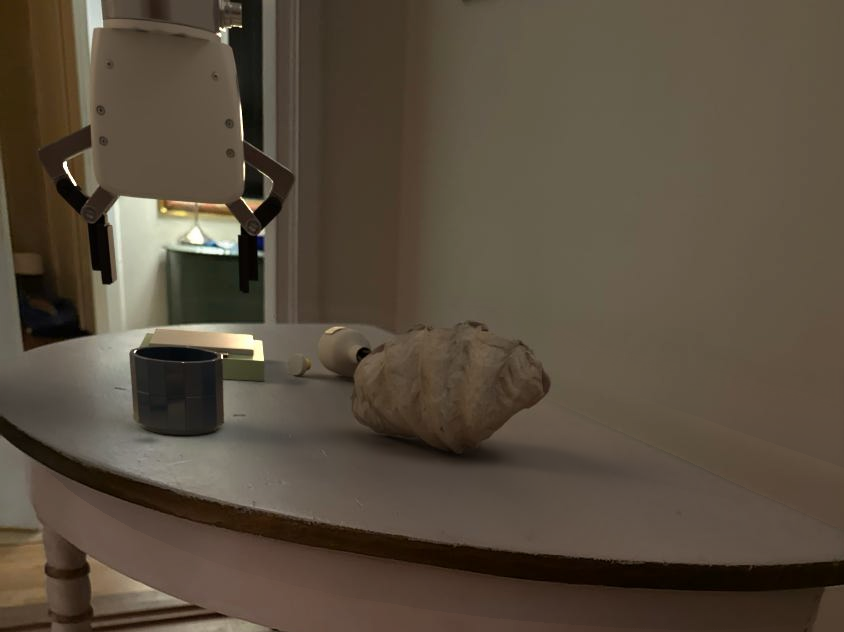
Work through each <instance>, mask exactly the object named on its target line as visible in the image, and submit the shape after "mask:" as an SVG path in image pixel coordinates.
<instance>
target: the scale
mask: <svg viewBox="0 0 844 632" xmlns="http://www.w3.org/2000/svg"><path fill="white" fill-rule="evenodd" d="M253 337H254V336H253V334H243V333H227V332H212V331H200V330H199V331H198V330H184V329H183V330H182V329H168V328H167V329H166V328H155V329H154V331H153V333H151V332H147V333H146V334H145V336H144V338H143V339H142V341H141V343H140V345H139V347H147V346H183V347H193V348H201V349H206V350H210V351H215V352H217V353H219V354H221V355H222V356H223V380H231V381H232V380H235V381H249V382H250V381H251V382H252V381H253V382H265V357H264V347H263V341H262V340H261V339H260V340H259V339H253Z"/></svg>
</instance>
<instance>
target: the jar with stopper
mask: <svg viewBox="0 0 844 632" xmlns="http://www.w3.org/2000/svg"><path fill="white" fill-rule="evenodd" d="M372 351H373V349H372V346H371V343H370V341H369V340H368V338H367V337H366V335H364V334H363V333H362V332H360V331H358V330H355V329H351V328H345V326H333V327H330V328H328V329H326V330H325V331H324V332H323V335H322V336H321V337H320V340H319V342H318V345H317V355H318V359H319V361H320V363H321V365H322V366H323V367H324V368H325V369H326V370H327V371H329V372H332V373H335V374H337V375H340V376H343V377H348V378H352V377H353V378H354V374H355V371H356V369H357V367H358V365H359V363H360V362H361V360H362V359H364V358H365V357H366V356H367V355H368V354H370V353H371V352H372ZM287 367H288V370H289V372H290V374H291V375H292V376H303V375H305V373H306V372H307V371H309V370H310V369H311V367H312V364H311V361H310V359H307V358H306V356H304V355H303V354H301V353H292V354H291V355H290V356H289V357H288V359H287Z"/></svg>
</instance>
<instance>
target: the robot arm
mask: <svg viewBox="0 0 844 632" xmlns="http://www.w3.org/2000/svg"><path fill="white" fill-rule="evenodd" d="M100 6H101V19H102V27H94V28H93V29H92V38H91V45H90V46H91V47H90V60H89V61H90V63H89V113H90V114H89V115H90V117H89V118H90V124H87V125H86V126H84V127H82V128H79V129H77V130H75V131H72V132H71V133H69V134H67V135H65V136H62V137H60V138H59V139H57V140H54V141H52V142H51V143H47V144H46V145H44V146H42V147H40V148H38V149H37V151H36V156H37V158H38V161H39V162H40V164H41V166H42V167H43V169H44V171H45V172H46V174H47V176H48V177H49V179H50V181H51V182H52V183H53V185H54V187H55V189H56V192H57V193H58V195H59V196H60V197H61V198H62V199H63V200H64V201H65V202H66V203H67V204H68V205H69V206H70V207H71V208H73V210H74V211H75V212H77V213H78V214H79V216H81V219H82V220H83V221H84V222H85V223H87V235H88V244H89V245H88V246H89V254H90V264H91V265H90V266H91V269H92V271H93V272H100V278H101V284H102V285H106V286H111V285H112V284H114V283H116V282H117V280H118V272H117V271H118V270H117V261H116V260H117V259H116V250H115V238H114V228H113V227H114V226H113V225H112V224H111V223H110V222H109V216H108V213H109V211H110V210H111V209H112V208H113V206H114V205H115V203H116V202H117V201H118V200H119V198H121V197H126V198H134V199H136V198H137V199H146V200H147V199H148V200H156V201H157V200H160V201H169V202H170V201H171V202H182V203H183V202H184V203H192V204H193V203H194V204H208V205H224V206H226V208H227V209H228V211H230V213H231V215H232V216H233V217H234V218H235V219H236V221H237V222H238V223H239V229H240V234H237V253H238V254H237V255H238V258H237V259H238V284H239V285H238V287H239V292H242V294H250V282H259V249H258V248H259V246H258V243H259V242H258V235H260V233H261V232H262V231H263V230H264V229H265V228H266V227H267V226H269V225H270V223H271V222H272V221H273V220H274V219H275V218H276V217H277V216H279V214H280V213H281V212H282V209H283V207H284V206H285V203H286V201H287V200H288V197H289V195H290V193H291V191H292V189H293V187H294V185H295V182H296V175H295V173H294V172H293V171H291V169H289V168H288V167H286V166H284V165H283V164H281V163H280V162H278V161H277V160H275V159H274V158H272V157H271V156H269V155H268V154H266V153H265V152H263V151H262V150H260V149H259V148H257V147H255V146H254V145H252V144H251V143H250V142H248V141H246V140H245V139H244V128H243V127H244V126H243V115H242V102H241V92H240V85H239V84H240V83H239V77H238V71H237V65H236V61H235V57H234V51H233V48H232V47H231V45H229V44H227V43H224V42H222V32H226V28H229V29H231V28H232V27H239V28H243V13H242V12H243V11H242V10H243V9H242V6H243V5H242V3H241V2H232V1H231V0H100ZM89 150H91V155H92V166H93V172H94V178H95V180H96V183H97V185H98V186H97V188H96V189H95V190H94V191H93V193H92V194H91V195H90V196H89V194H88V193H87V192H86V191H85V190H84V189H83V188H82V187H81V186H80V185H79V184H78V183H77V182H76V181H75V180H74V178H73V176H72V175H71V172H70V171H69V169H68V166H67V164H68V162H69V161H70V160H71V159H74V158H75V157H77V156H80V155H81V154H84V153H86V152H88V151H89ZM246 164H248V165H249V166H250V167H252V168H253V169H255V170H256V171H258V172H260V173H261V174H263V175H264V176H266V177H267V178H269V179H270V181H271V188H270V190H269V193H268V194H267V196H266V199H265V200H264V201H262V203H261V204H259V206H258V207H257V208H256V209H255V210H254V211H253V210H252V209H251V208H250V207H249V205H248V204H247V202H246V201H245V200H244V199H243V197H242V196H243V194H244V193H245V188H246Z"/></svg>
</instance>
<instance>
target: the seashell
mask: <svg viewBox="0 0 844 632" xmlns="http://www.w3.org/2000/svg"><path fill="white" fill-rule="evenodd" d="M353 380H354V385H353V387H352V391H351V395H350V400H351V407H350V408H351V413H352V414H353V416H354V418H355V420H356V421H357V422H358V423H359V424H360V425H362V426H365V427H367V428H369V429H371V431H374V432H375V433H378V434H381V435H386V436H396V437H405V438H417V439H420V440H421V441H424V442H425V443H426V444H428V445H429V446H431V447H433V448H434V449H437V450H440V451H445V452H450V451H453V452H454V453H455V454H462V453H463V452H464V449H466V448H469V449H472V450H475V449H477V448H478V447H479V445H480V443H482V441H485V440H489V439H490V438H491V437H492V436H493V435H494V434H495V433H496V432H498V430H500V429H501V428H502V427H503V426H504V425H505V424H506V423H507V422H508V421H510V419H511V418H512V417H513V416H515V415H517V414H518V413H520V412H521V411H523V410H527V409H528V410H530V409H531V408H532V407H534V406H535V405H537V404H538V403H539V402H540V401H541V400H543V399H544V398H545V397H546V396H547V395H548V393H549V392H550V389H551V386H552V379H551V376H550V374H549V373H548V372H547V371H546V369H544V367H543V362H542V360H540V359H538V358H537V357H536V355H535V351H534V350H533V348H530V347H529V345H527V344H525V343H524V342H523V341H522V340H519V339H514V338H512V339H511V340H510V339H507V338H505V337H503V336H500V335H498V334H495V333H493V332H490V327H489V326H488V325H487V324H486V323H485V322H482V321H479V320H475V319H467V320H465V321H464V322H458V323H456V324H455V325H453V327H451V328H449V327H441V328H438V329H437V328H435V327H434V325H432V324H430V326H428V325H425V324H422V323H420V324H415V325H414V326H412V327H410V328H409V329H408V330H407V331H405V332H404V333H401V334H398V335H395V336H394V337H392V338H390V339H388V340H387V341H386V342H383V343H382V344H380V345H378V346H377V347H374V348H373V349H372V352H371V353H370V354H368V355H367V356H366V357H365V358H364V359H362V360H361V362H360V363H359V365H358V367H357V369H356V371H355V374H354V376H353Z"/></svg>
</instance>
